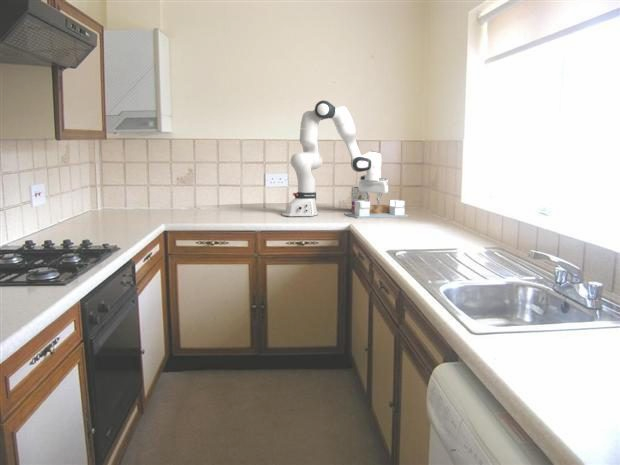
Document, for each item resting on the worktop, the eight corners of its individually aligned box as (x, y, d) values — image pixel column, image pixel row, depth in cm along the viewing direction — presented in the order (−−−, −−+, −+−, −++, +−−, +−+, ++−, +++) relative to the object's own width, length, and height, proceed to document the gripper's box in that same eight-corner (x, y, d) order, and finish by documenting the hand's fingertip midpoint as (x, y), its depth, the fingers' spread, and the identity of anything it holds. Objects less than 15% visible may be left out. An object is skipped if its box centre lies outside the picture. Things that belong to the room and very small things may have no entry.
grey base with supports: (357, 218, 315) (357, 202, 314) (344, 214, 334) (344, 199, 332) (408, 216, 326) (409, 201, 325) (392, 213, 345) (393, 198, 343)
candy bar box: (369, 211, 352) (370, 186, 350) (368, 212, 347) (368, 187, 345) (352, 211, 355) (353, 186, 353) (351, 211, 351) (351, 186, 348)
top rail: (355, 214, 327) (355, 206, 326) (352, 213, 330) (352, 205, 330) (392, 212, 337) (392, 205, 336) (389, 212, 340) (389, 204, 340)
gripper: (390, 178, 326) (389, 201, 328) (363, 176, 339) (362, 198, 341) (385, 178, 321) (384, 201, 323) (357, 176, 335) (356, 198, 337)
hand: (372, 199), depth 333 cm, fingers open, 7 cm apart
